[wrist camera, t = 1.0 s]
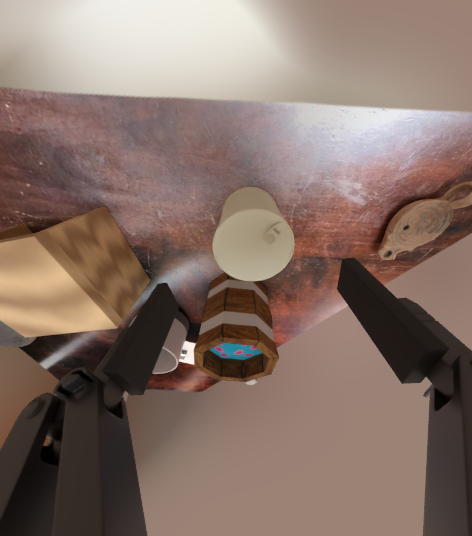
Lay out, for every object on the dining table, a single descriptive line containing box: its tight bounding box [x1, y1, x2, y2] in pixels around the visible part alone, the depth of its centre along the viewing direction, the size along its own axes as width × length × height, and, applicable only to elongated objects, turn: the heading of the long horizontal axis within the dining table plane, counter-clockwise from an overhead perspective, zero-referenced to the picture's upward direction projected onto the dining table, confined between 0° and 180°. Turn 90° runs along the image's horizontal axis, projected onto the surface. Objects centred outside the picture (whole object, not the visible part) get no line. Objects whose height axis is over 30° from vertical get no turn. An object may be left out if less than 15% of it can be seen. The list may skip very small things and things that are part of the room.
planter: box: [129, 307, 189, 374], centre depth 40 cm, size 13×13×10 cm
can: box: [212, 187, 295, 281], centre depth 24 cm, size 9×9×12 cm
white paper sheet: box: [179, 341, 196, 364], centre depth 53 cm, size 12×12×2 cm
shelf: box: [0, 206, 150, 337], centre depth 29 cm, size 16×18×12 cm
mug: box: [194, 273, 279, 385], centre depth 34 cm, size 20×14×15 cm
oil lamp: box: [378, 182, 472, 260], centre depth 26 cm, size 13×8×5 cm, turn 150°
